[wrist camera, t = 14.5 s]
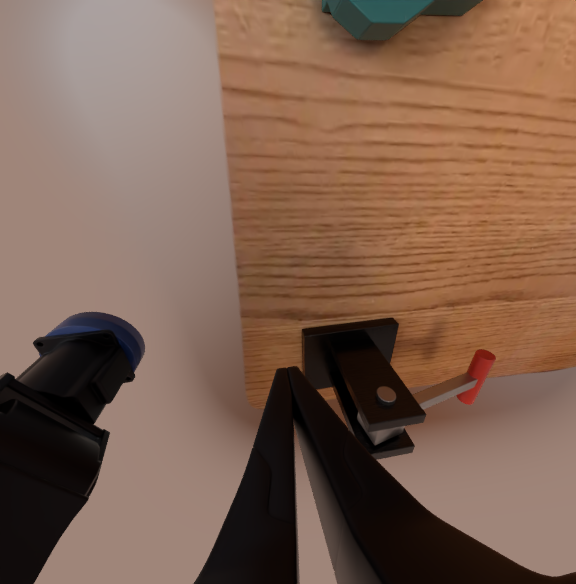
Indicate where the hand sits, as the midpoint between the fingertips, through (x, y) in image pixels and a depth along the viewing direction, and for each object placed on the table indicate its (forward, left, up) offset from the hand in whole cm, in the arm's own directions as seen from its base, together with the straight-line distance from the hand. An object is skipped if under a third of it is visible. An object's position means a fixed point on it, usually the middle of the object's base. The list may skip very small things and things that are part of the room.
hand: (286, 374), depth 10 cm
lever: (+13, -11, -6) cm, 18 cm away
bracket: (+8, -11, -12) cm, 18 cm away
